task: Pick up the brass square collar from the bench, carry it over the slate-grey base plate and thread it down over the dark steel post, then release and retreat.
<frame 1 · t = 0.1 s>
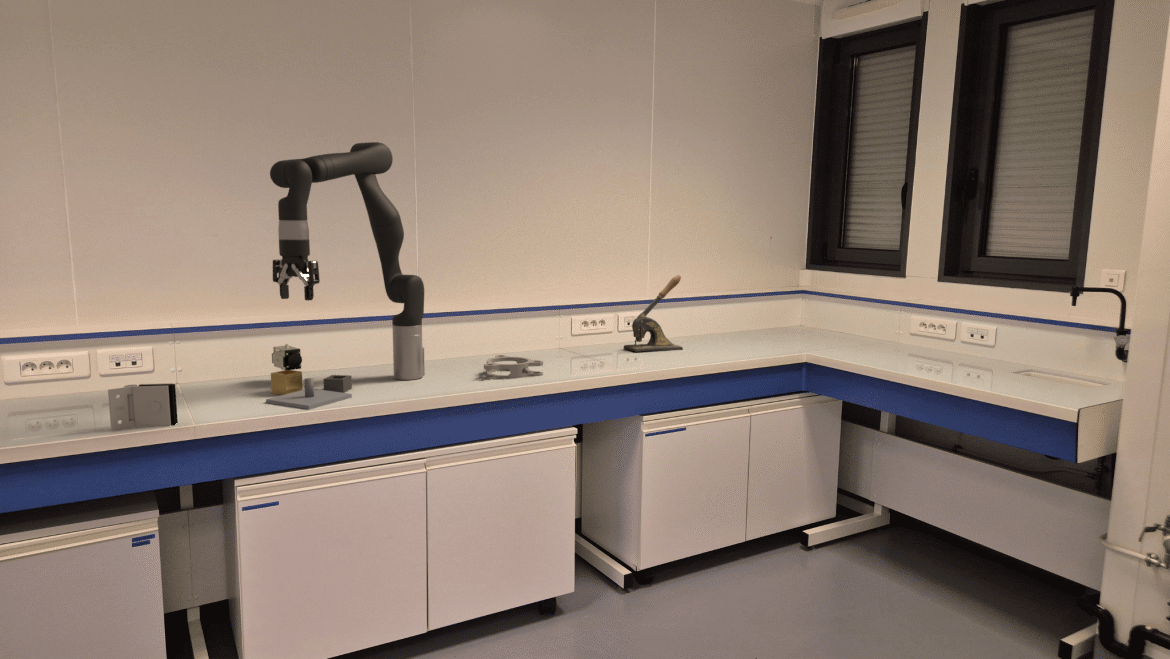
hand: (296, 299, 200), 29 cm above the worktop, fingers open, 8 cm apart
embossing press: (654, 350, 304), on the worktop
pneumatic valve: (286, 383, 234), on the worktop
grey hollow square block: (338, 390, 224), on the worktop
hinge: (144, 427, 183), on the worktop
brass collar: (287, 392, 221), on the worktop
mechanical component: (507, 374, 253), on the worktop
post block: (309, 399, 212), on the worktop
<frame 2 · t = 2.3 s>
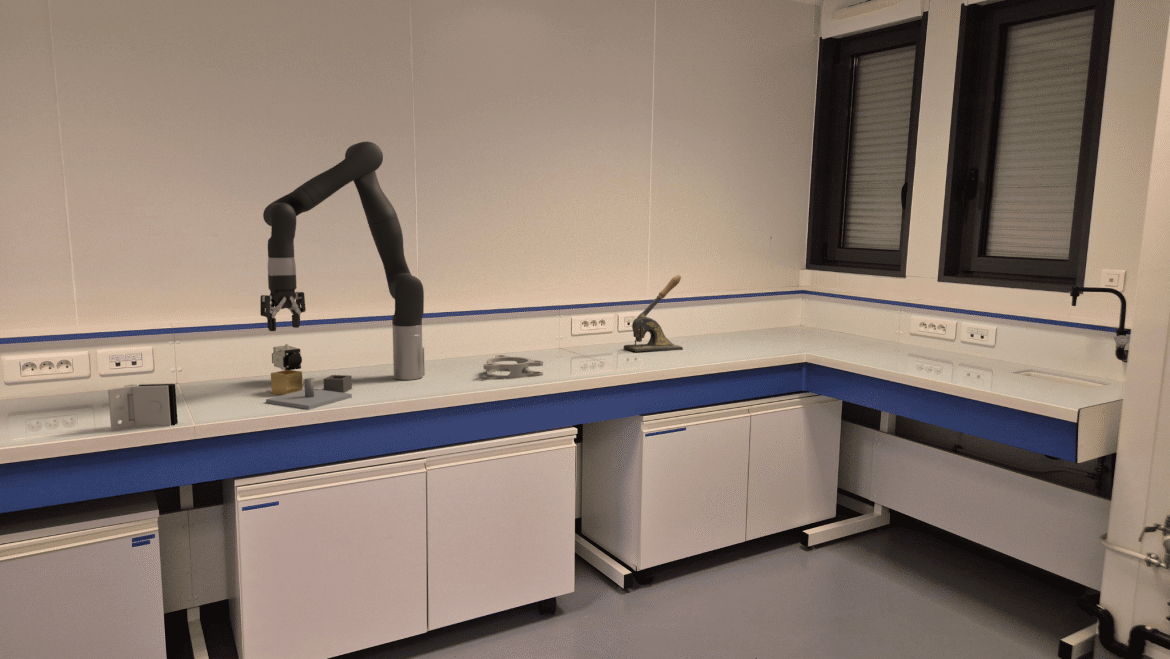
hand: (284, 329, 218), 19 cm above the worktop, fingers open, 8 cm apart
nothing on the worktop moved.
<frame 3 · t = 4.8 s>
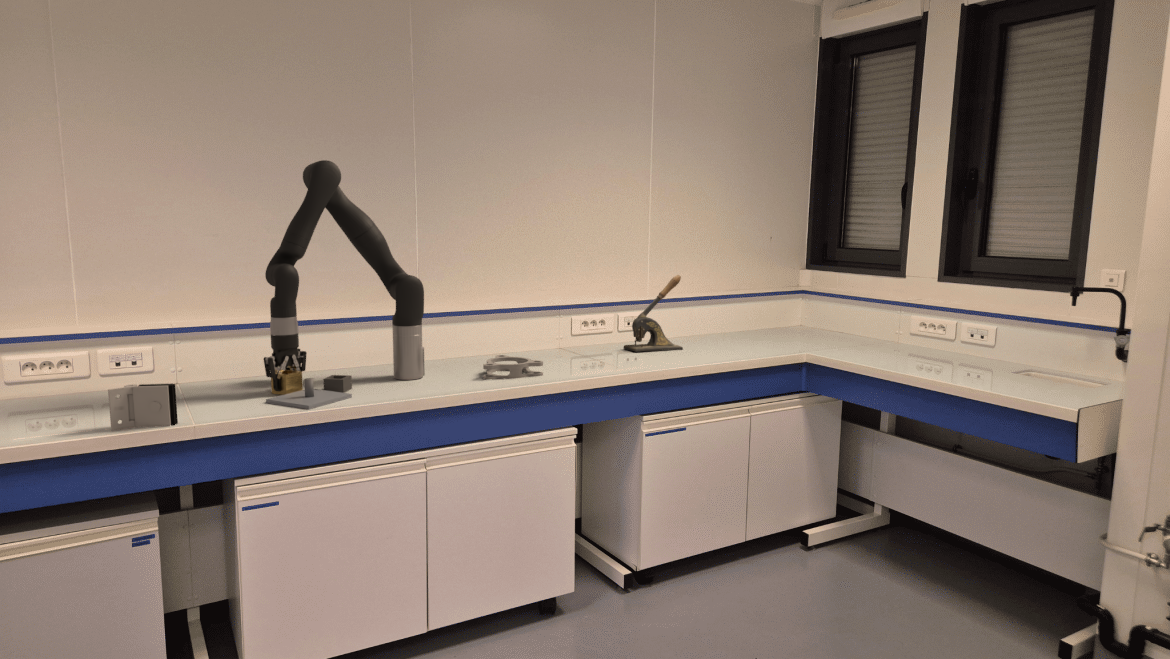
hand: (287, 388, 221), 1 cm above the worktop, fingers closed on brass collar, 6 cm apart
brass collar: (287, 392, 221), on the worktop, touching gripper
everything else where it was.
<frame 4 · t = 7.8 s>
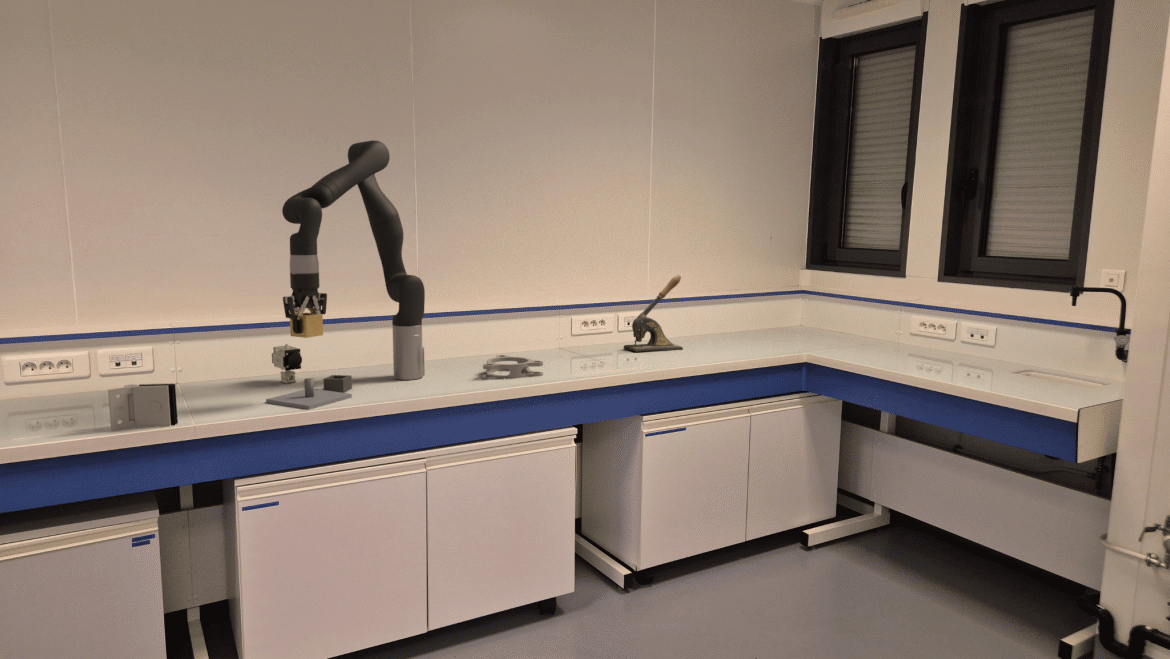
hand: (306, 331, 209), 19 cm above the worktop, fingers closed on brass collar, 6 cm apart
brass collar: (306, 335, 209), point 18 cm above the worktop, touching gripper
everything else where it was.
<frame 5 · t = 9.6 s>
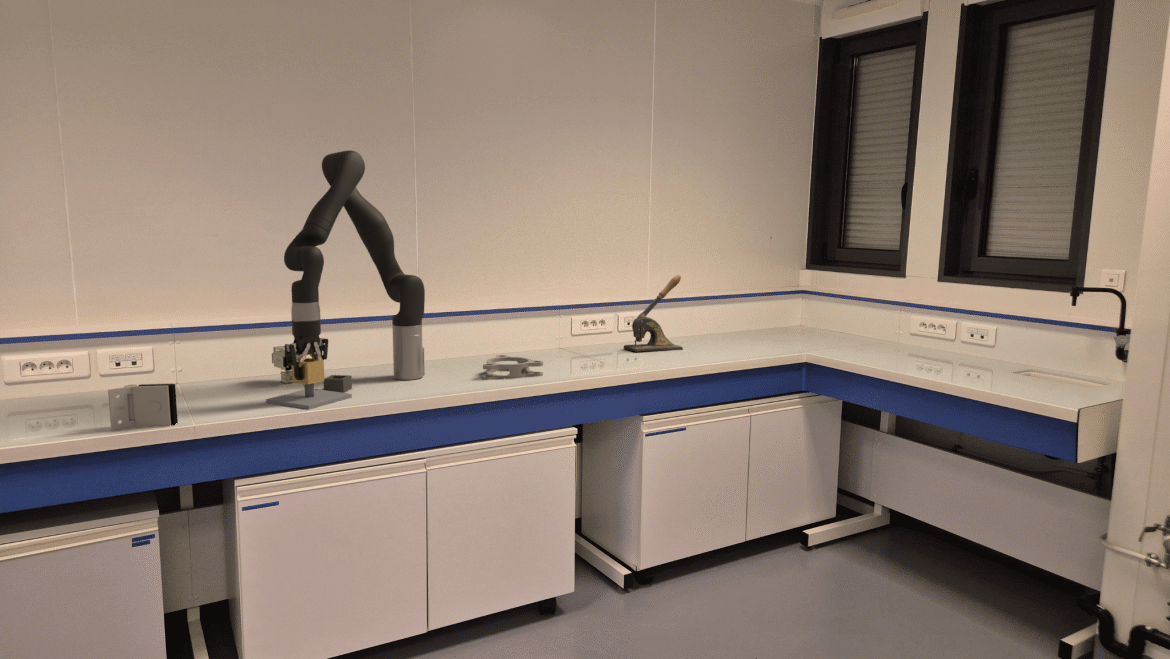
hand: (308, 377, 211), 6 cm above the worktop, fingers closed on brass collar, 6 cm apart
brass collar: (308, 381, 211), point 5 cm above the worktop, touching gripper
everything else where it was.
when the fingers open (4 cm above the worktop, at t = 11.2 s): brass collar drops 1 cm, resting on post block.
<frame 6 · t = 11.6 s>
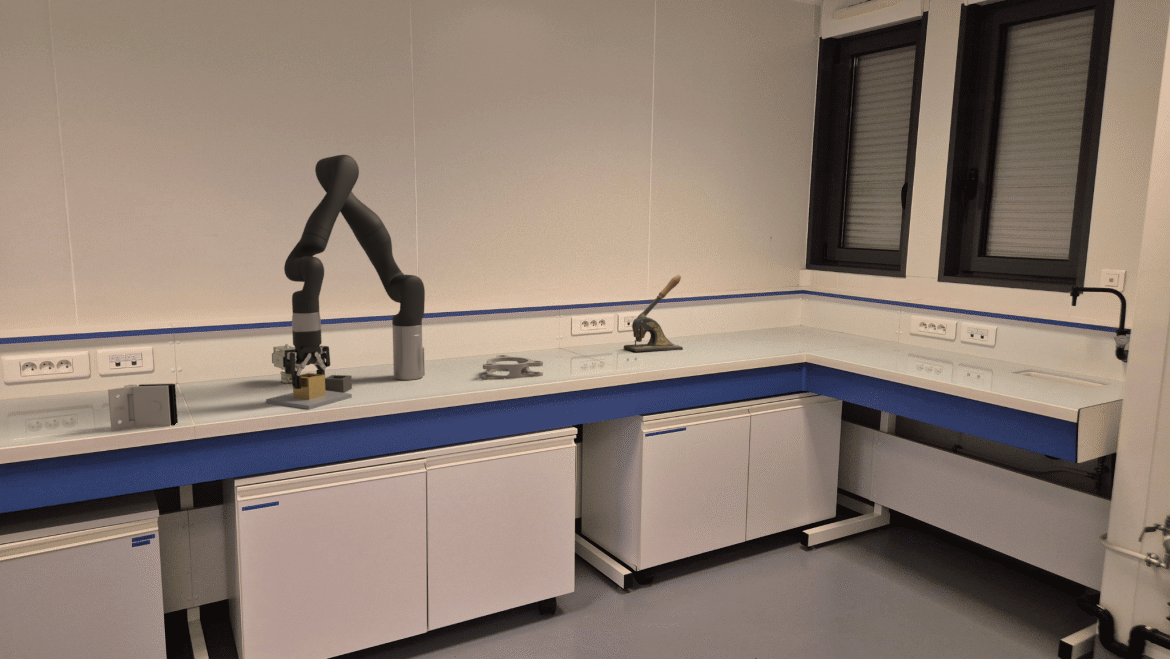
hand: (309, 385, 211), 4 cm above the worktop, fingers open, 8 cm apart
brass collar: (309, 396, 212), point 1 cm above the worktop, touching post block
everything else where it was.
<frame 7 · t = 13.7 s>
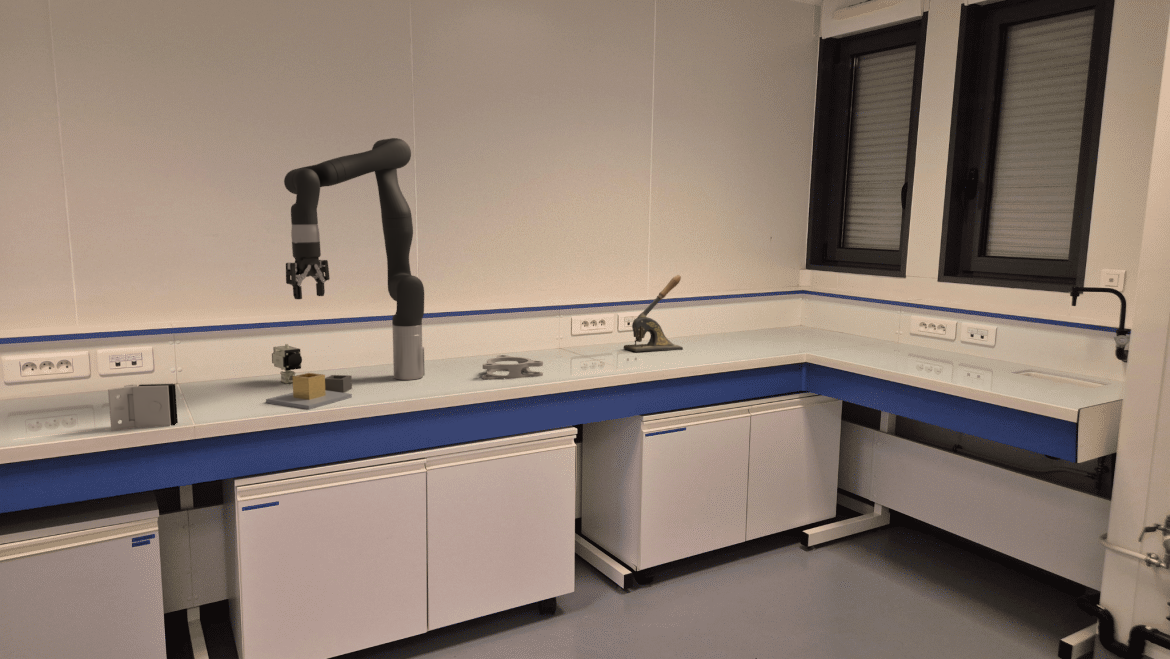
hand: (309, 297, 216), 28 cm above the worktop, fingers open, 8 cm apart
nothing on the worktop moved.
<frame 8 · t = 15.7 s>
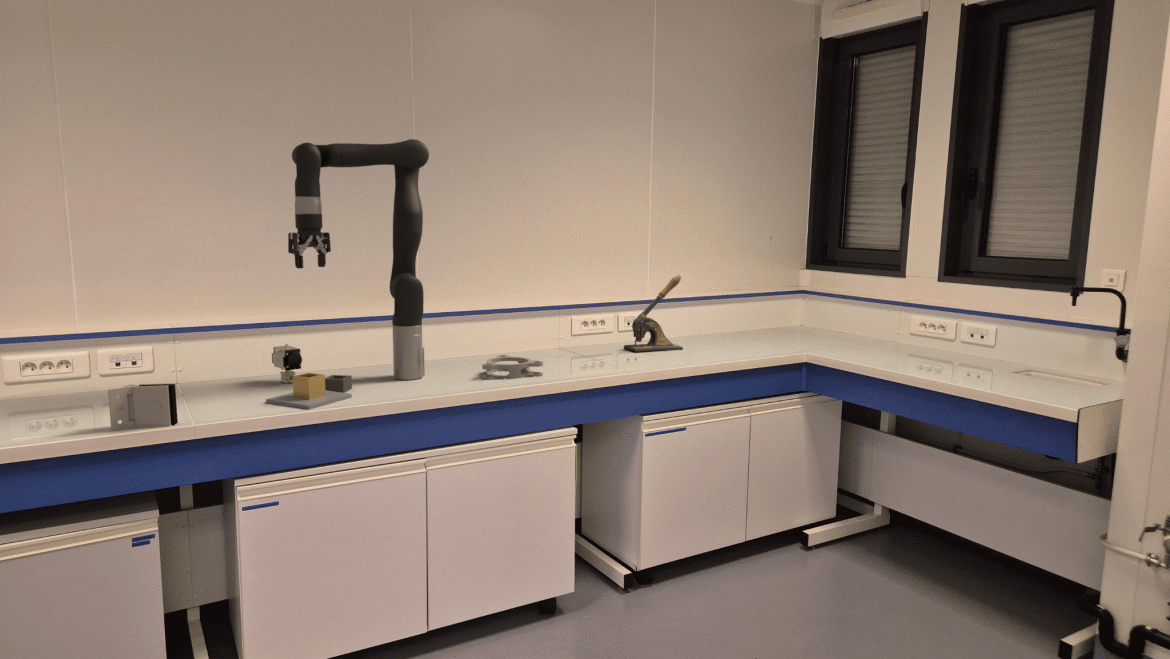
hand: (310, 267, 224), 36 cm above the worktop, fingers open, 8 cm apart
nothing on the worktop moved.
at the end: brass collar 0.0 cm off-centre on the post block, point 1.0 cm above the post block's base; the gripper is holding nothing; brass collar tilted 0° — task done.
